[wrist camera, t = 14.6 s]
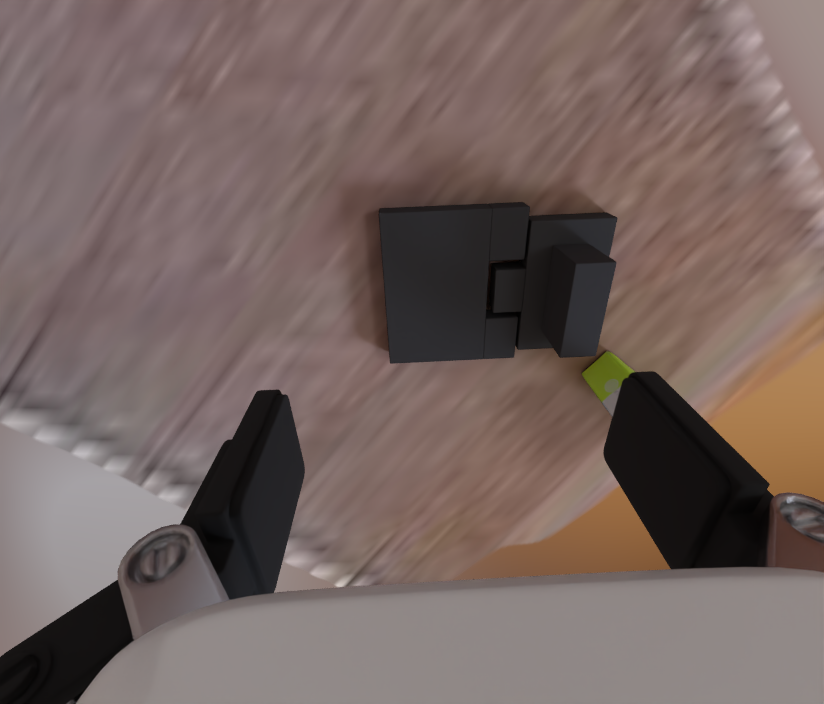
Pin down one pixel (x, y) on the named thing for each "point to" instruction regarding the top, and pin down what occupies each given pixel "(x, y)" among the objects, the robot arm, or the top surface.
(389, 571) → the top surface
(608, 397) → the box
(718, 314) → the top surface
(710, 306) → the top surface
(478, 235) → the base pad
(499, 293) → the pad
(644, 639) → the robot arm
